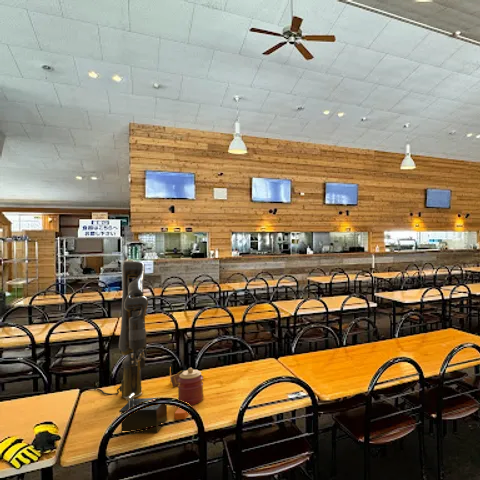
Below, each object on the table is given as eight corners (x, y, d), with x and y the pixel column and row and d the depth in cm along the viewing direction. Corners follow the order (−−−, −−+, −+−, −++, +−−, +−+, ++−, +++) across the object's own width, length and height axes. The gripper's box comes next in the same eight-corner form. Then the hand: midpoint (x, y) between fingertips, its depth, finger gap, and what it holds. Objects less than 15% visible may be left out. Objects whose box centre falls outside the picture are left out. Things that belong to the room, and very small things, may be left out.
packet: (185, 419, 182) (185, 412, 182) (174, 419, 182) (174, 413, 182) (190, 411, 190) (190, 405, 190) (180, 411, 190) (180, 405, 190)
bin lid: (119, 412, 169) (119, 400, 169) (132, 400, 182) (131, 389, 182) (156, 411, 170) (156, 399, 170) (166, 399, 182) (166, 388, 182)
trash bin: (121, 434, 169) (121, 412, 169) (134, 420, 182) (133, 400, 182) (156, 432, 170) (156, 411, 170) (167, 419, 182) (166, 399, 182)
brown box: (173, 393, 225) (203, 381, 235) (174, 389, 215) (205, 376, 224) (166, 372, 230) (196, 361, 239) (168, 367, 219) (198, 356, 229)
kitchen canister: (205, 394, 211) (204, 363, 210) (201, 404, 198) (200, 371, 198) (181, 396, 209) (180, 364, 209) (175, 406, 196) (174, 372, 196)
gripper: (136, 334, 192) (137, 366, 191) (123, 341, 177) (124, 376, 177) (151, 333, 192) (152, 365, 192) (139, 340, 178) (140, 375, 178)
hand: (139, 370), depth 185 cm, fingers open, 8 cm apart
